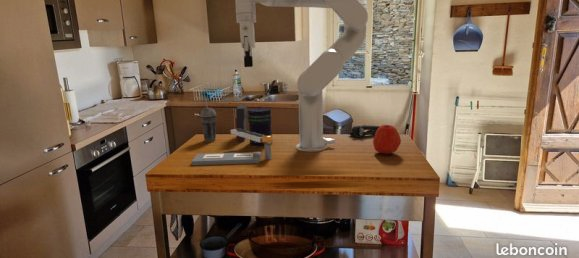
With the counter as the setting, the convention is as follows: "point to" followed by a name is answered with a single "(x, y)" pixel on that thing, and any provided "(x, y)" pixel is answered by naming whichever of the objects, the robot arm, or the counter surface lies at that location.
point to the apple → (386, 139)
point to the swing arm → (252, 136)
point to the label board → (231, 157)
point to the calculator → (241, 119)
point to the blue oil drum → (259, 123)
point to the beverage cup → (208, 123)
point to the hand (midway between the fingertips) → (248, 66)
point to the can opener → (359, 130)
